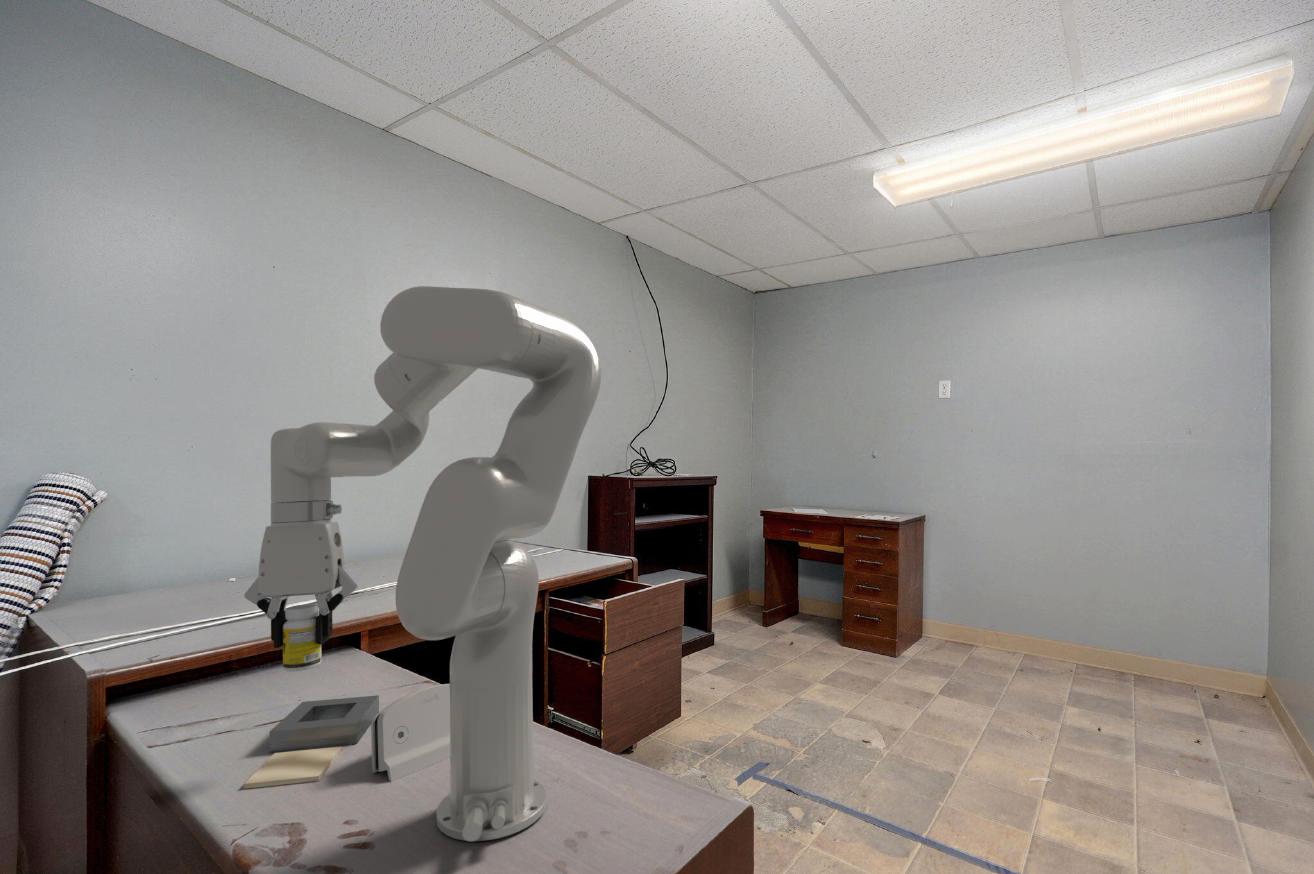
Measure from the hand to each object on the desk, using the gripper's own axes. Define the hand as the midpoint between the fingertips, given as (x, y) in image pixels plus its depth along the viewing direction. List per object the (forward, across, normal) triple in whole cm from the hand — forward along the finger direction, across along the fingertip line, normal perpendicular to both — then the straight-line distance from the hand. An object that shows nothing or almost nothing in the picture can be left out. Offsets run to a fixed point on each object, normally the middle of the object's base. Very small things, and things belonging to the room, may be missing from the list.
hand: (302, 642), depth 86 cm
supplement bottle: (+4, 0, 0) cm, 4 cm away
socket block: (+17, +1, -12) cm, 20 cm away
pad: (+17, +1, +1) cm, 17 cm away
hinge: (+17, -17, -1) cm, 24 cm away
